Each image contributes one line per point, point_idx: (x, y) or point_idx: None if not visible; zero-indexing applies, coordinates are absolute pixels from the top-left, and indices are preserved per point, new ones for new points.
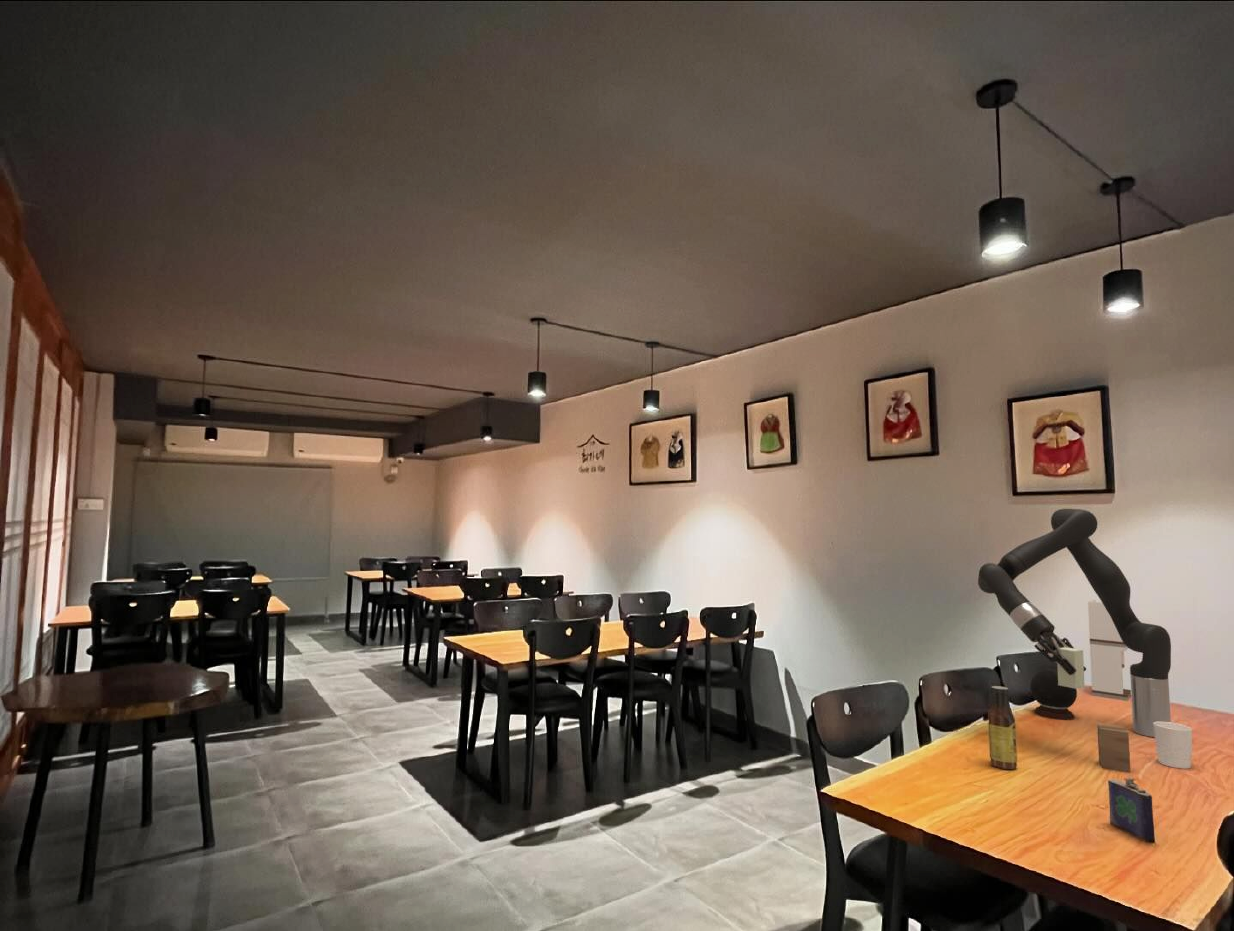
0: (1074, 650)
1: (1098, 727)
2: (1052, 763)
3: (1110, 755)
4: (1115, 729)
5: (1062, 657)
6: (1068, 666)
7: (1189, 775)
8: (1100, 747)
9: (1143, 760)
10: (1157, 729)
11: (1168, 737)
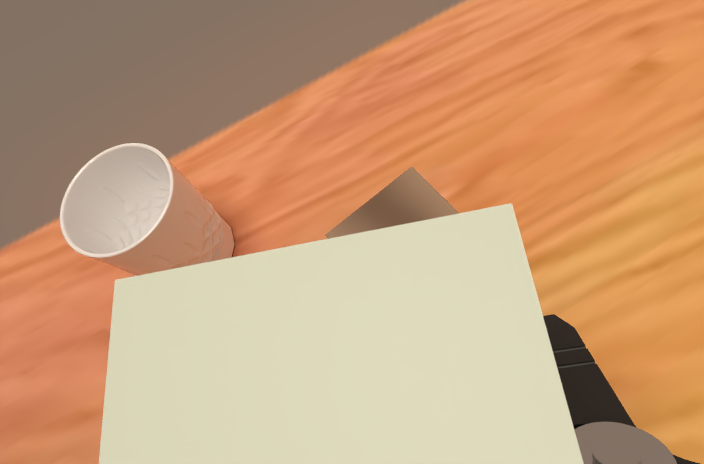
0: (395, 280)
1: None
2: (651, 400)
3: None
4: (420, 214)
5: (654, 452)
6: (581, 350)
7: (267, 175)
8: None
9: None
10: (172, 222)
11: (190, 194)
